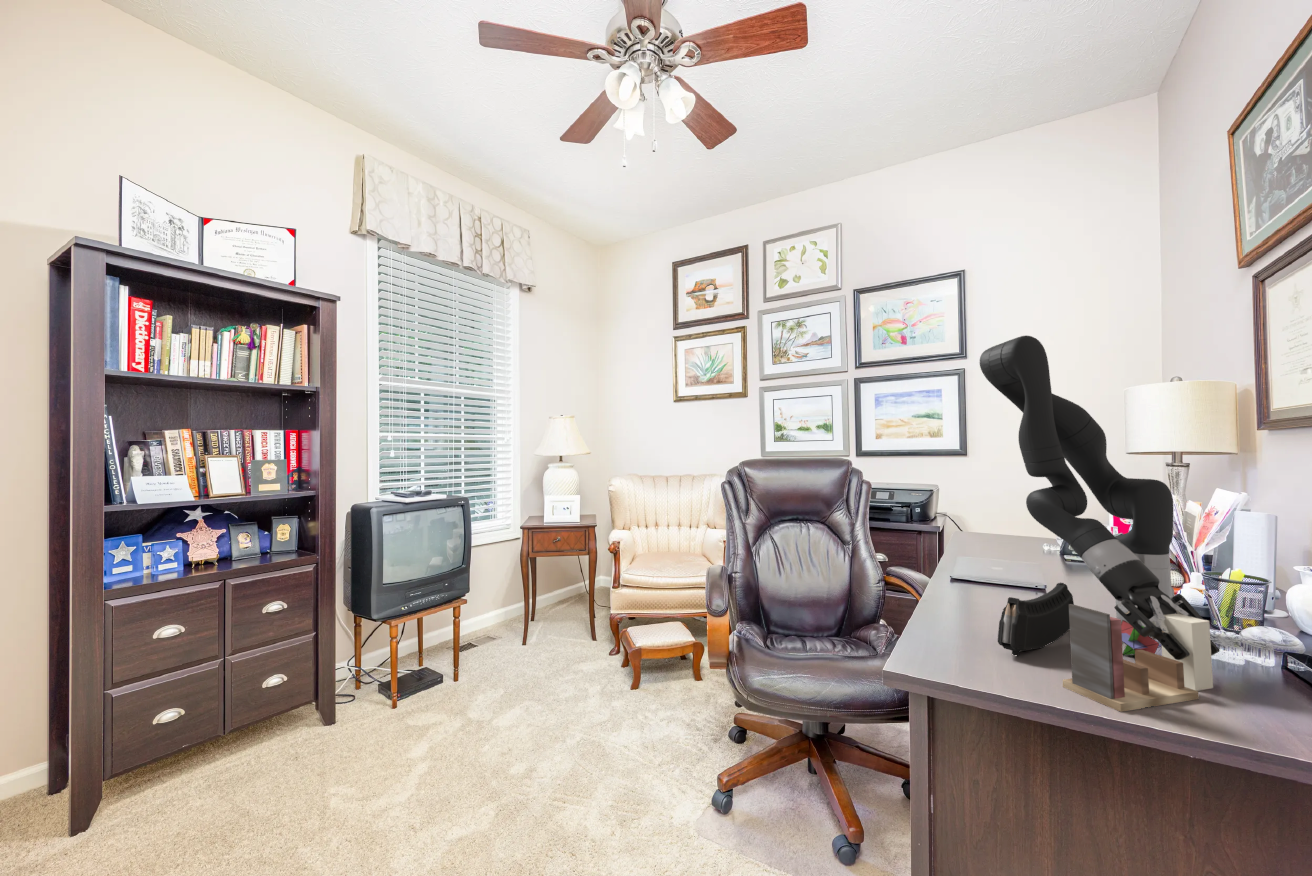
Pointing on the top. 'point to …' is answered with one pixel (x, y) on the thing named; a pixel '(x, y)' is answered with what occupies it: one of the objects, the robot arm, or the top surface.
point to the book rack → (1119, 666)
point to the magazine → (1035, 620)
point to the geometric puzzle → (1136, 640)
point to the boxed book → (1192, 649)
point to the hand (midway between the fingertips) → (1198, 655)
